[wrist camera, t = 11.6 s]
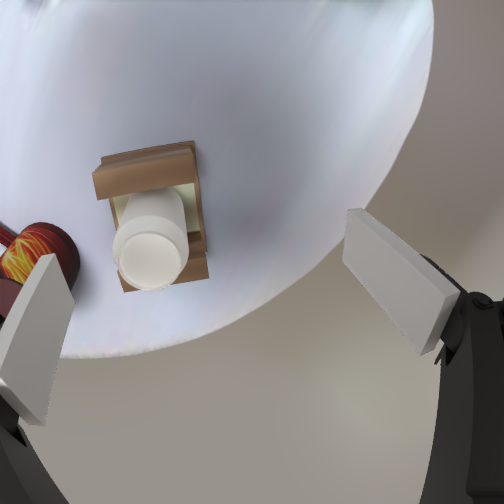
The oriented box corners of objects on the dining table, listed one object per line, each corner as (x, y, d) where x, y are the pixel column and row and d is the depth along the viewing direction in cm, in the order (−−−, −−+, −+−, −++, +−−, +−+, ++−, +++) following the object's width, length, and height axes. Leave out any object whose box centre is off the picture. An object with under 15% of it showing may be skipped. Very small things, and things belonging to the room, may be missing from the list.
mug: (-11, 212, 27) (-60, 259, 17) (81, 228, 32) (50, 285, 21) (-4, 277, 31) (-40, 333, 20) (80, 294, 35) (60, 361, 25)
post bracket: (102, 156, 29) (86, 172, 23) (193, 140, 30) (198, 151, 25) (126, 261, 35) (120, 295, 29) (206, 247, 37) (214, 279, 31)
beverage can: (117, 216, 31) (95, 275, 21) (147, 169, 30) (133, 208, 19) (163, 243, 34) (163, 309, 24) (194, 199, 32) (206, 252, 22)
